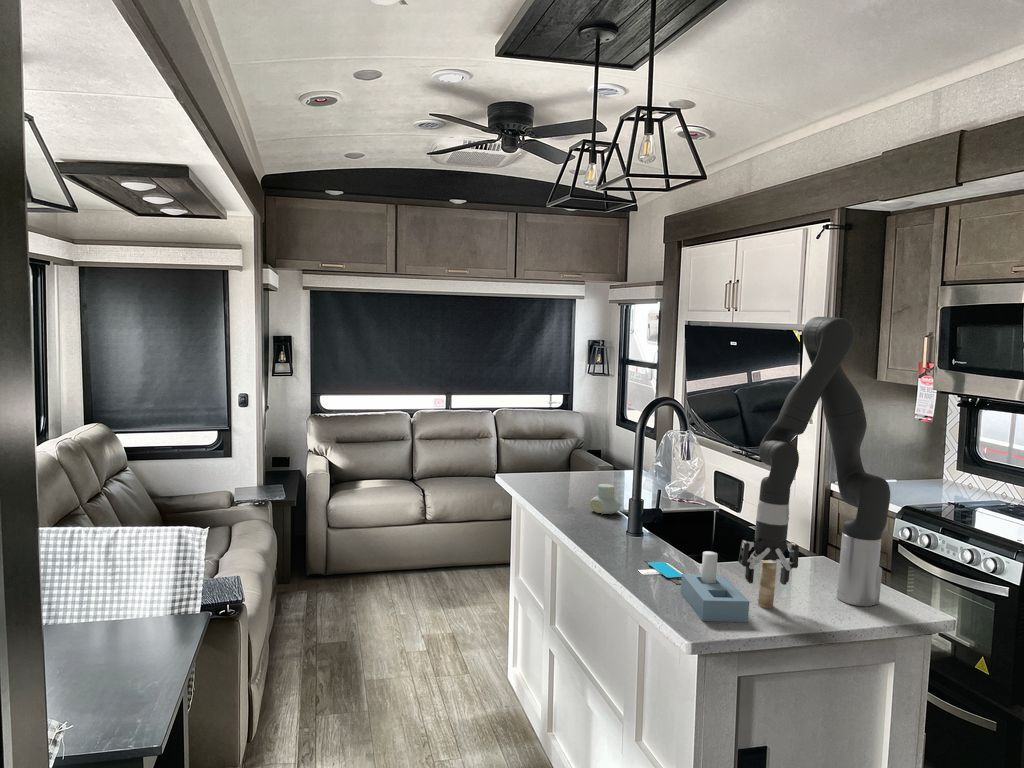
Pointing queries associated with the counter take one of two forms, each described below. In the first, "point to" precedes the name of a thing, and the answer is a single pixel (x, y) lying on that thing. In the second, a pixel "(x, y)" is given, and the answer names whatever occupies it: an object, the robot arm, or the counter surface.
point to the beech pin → (767, 584)
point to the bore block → (714, 594)
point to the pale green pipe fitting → (605, 500)
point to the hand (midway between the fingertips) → (766, 583)
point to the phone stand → (664, 570)
